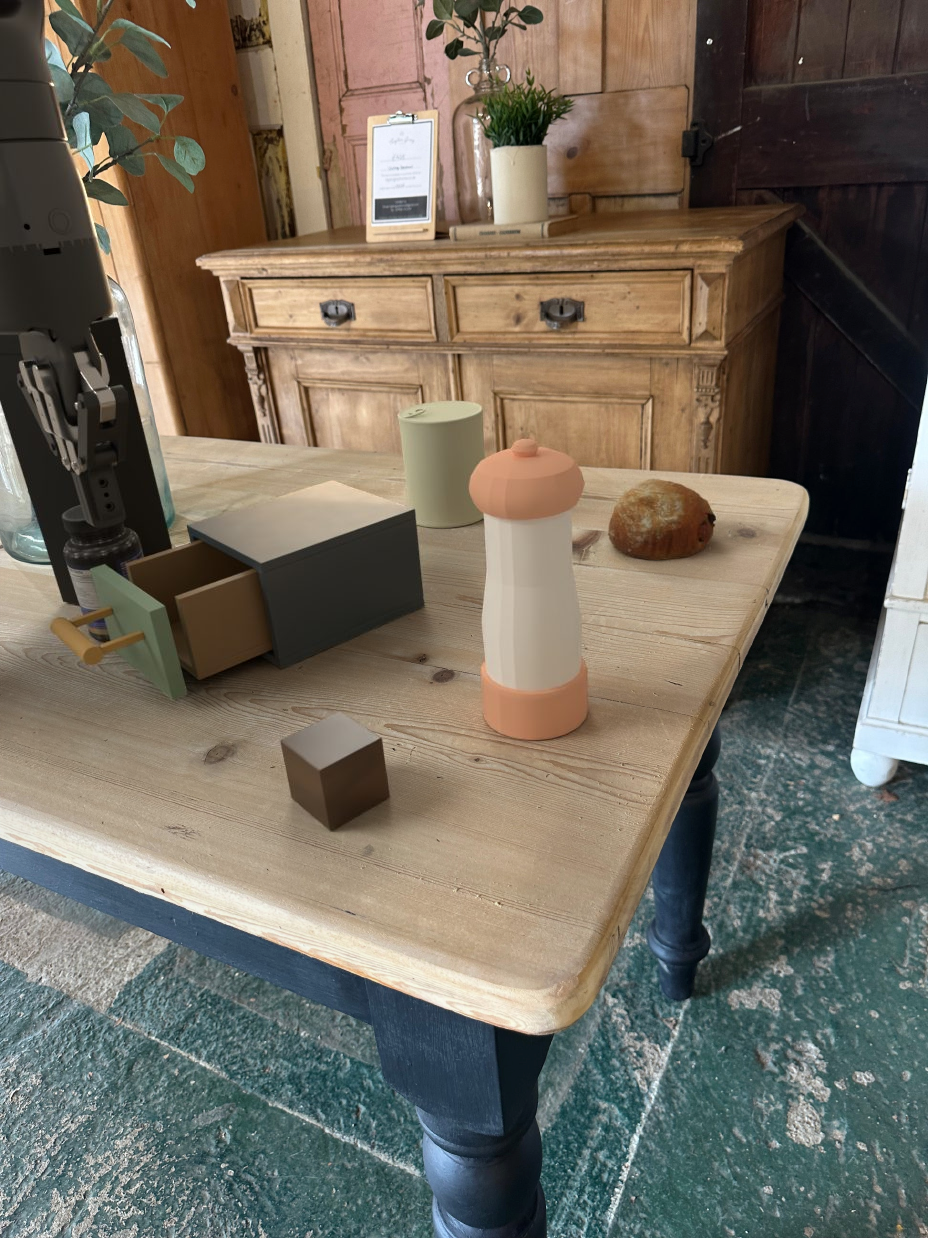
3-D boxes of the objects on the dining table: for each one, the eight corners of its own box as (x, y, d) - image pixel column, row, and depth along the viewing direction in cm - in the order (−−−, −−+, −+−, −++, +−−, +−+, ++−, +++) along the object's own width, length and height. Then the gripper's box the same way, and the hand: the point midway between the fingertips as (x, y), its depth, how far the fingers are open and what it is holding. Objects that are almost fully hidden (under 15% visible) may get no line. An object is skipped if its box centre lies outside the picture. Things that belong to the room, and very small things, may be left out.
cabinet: (281, 669, 68) (260, 563, 64) (208, 620, 76) (186, 524, 72) (425, 606, 76) (415, 508, 72) (344, 568, 85) (331, 479, 80)
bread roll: (626, 554, 92) (593, 489, 89) (719, 515, 88) (688, 446, 85) (625, 594, 83) (589, 524, 80) (728, 553, 79) (694, 478, 77)
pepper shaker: (487, 682, 64) (470, 426, 55) (587, 682, 63) (585, 422, 54) (478, 740, 57) (456, 460, 49) (588, 741, 56) (587, 456, 48)
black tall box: (61, 603, 82) (-37, 291, 69) (120, 570, 88) (40, 278, 75) (125, 613, 79) (35, 288, 66) (181, 578, 85) (108, 275, 72)
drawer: (112, 727, 60) (84, 635, 57) (57, 671, 68) (30, 587, 65) (327, 634, 70) (314, 552, 67) (258, 595, 78) (243, 519, 75)
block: (330, 832, 50) (319, 771, 48) (291, 798, 53) (279, 739, 51) (390, 797, 53) (382, 737, 51) (349, 767, 56) (340, 709, 54)
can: (396, 509, 99) (385, 404, 93) (470, 494, 102) (463, 391, 96) (424, 534, 91) (413, 422, 86) (503, 517, 94) (497, 407, 89)
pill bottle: (148, 605, 80) (118, 492, 75) (170, 627, 76) (140, 508, 71) (80, 627, 77) (44, 510, 72) (99, 651, 73) (62, 529, 68)
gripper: (-74, 245, 51) (17, 518, 59) (-11, 243, 42) (87, 566, 50) (54, 232, 56) (123, 489, 63) (136, 228, 47) (205, 528, 54)
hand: (107, 523), depth 57 cm, fingers closed
